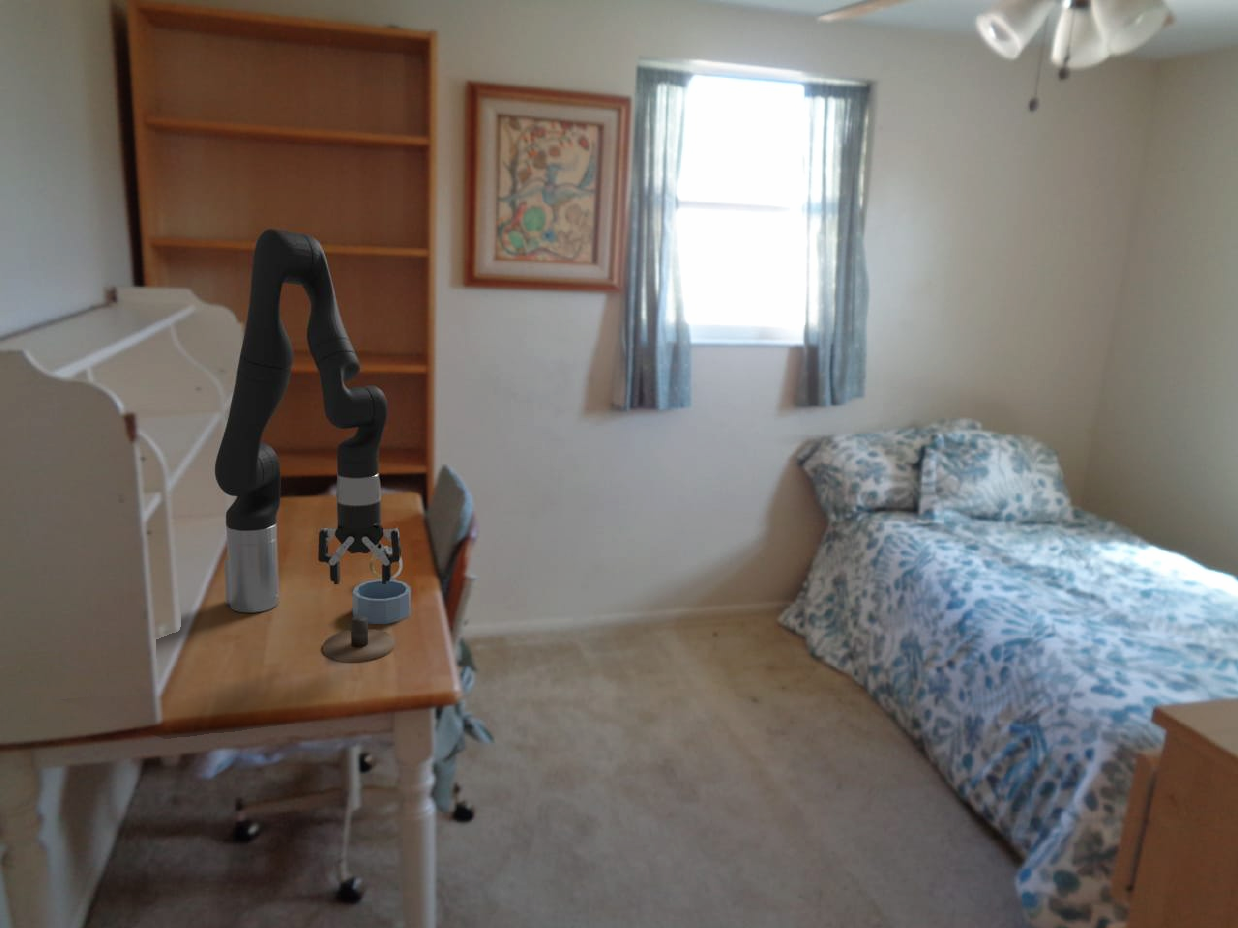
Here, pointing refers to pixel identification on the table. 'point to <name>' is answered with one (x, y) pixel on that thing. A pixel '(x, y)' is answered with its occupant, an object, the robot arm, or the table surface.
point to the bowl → (382, 601)
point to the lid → (359, 643)
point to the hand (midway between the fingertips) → (360, 582)
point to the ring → (377, 557)
